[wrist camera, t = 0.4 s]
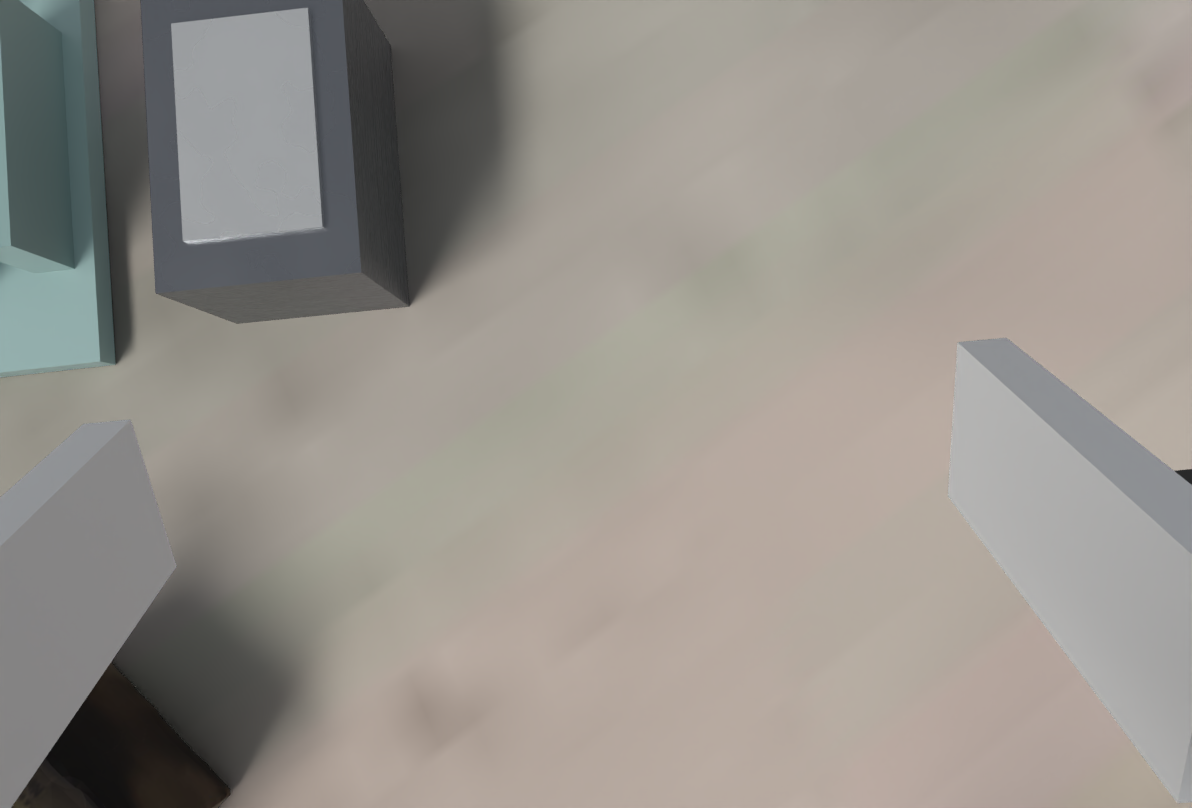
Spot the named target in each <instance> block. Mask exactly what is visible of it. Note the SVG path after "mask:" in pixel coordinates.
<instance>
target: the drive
mask: <svg viewBox="0 0 1192 808" xmlns="http://www.w3.org/2000/svg"><path fill="white" fill-rule="evenodd" d="M141 19H142V38H143V58H144V77H145V97H146V116H147V135H148V155H149V174H150V194H151V213H152V233H153V252H154V272H155V291H156V294H159V295H161V296H164V297H167V298H169V299H172V300H175V301H177V302H180V303H183V304H185V305H188V306H191V307H194V308H196V309H199V310H202V311H204V312H207V313H210V314H212V315H215V316H218V317H220V318H223V319H226V320H229V321H231V322H234V323H237V324H239V323H249V322H259V321H269V320H279V319H289V318H299V317H309V316H319V315H329V314H339V313H349V312H359V311H370V310H380V309H390V308H400V307H409V293H408V280H407V266H406V252H405V239H404V225H403V212H402V198H401V184H400V171H399V157H398V143H397V130H396V116H395V102H394V89H393V75H392V61H391V48H390V44H389V42H388V40H387V39H386V37H385V35H384V34H383V32H382V30H381V29H380V27H379V25H378V24H377V22H376V21H375V19H374V17H373V16H372V14H371V12H370V11H369V9H368V7H367V6H366V4H365V2H364V1H363V0H141Z"/></svg>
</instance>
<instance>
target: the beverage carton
mask: <svg viewBox="0 0 1192 808" xmlns="http://www.w3.org/2000/svg"><path fill="white" fill-rule="evenodd" d="M230 794H231V793H230V789H229V788H228V787H227V786H226V784H225V783H224V782H223V781H222V780H221V779H220V778H219V777H218V776H217V775H216V774H215V773H214V772H213V771H212V770H211V769H210V767H209V766H208V765H207V764H206V763H205V762H204V761H203V760H202V759H201V758H200V757H198V756H197V755H196V754H195V753H194V752H193V751H192V750H191V749H190V748H189V747H188V746H187V745H186V743H185V742H184V741H183V740H182V739H181V738H180V737H179V736H178V735H177V733H176V732H175V731H174V730H173V729H172V728H171V727H170V726H169V725H168V724H167V723H166V722H165V721H164V720H163V719H162V717H161V716H160V715H159V713H158V712H157V710H156V709H155V708H154V707H153V706H152V705H151V704H150V703H149V702H148V701H147V700H146V699H145V698H144V697H143V696H142V695H141V694H140V693H139V692H138V691H137V690H136V689H135V687H134V686H133V685H132V684H131V682H130V681H129V680H128V679H127V678H126V677H124V676H123V675H122V674H121V673H120V672H119V671H118V670H117V668H116V667H115V666H114V665H113V664H112V663H110V664H109V666H108V667H107V669H106V670H105V672H104V673H103V675H102V676H101V677H100V679H99V680H98V682H97V683H96V685H95V686H94V688H93V689H92V691H91V692H90V693H89V695H88V696H87V698H86V699H85V701H84V702H83V704H82V705H81V707H80V708H79V710H78V711H77V712H76V714H75V715H74V717H73V718H72V720H71V721H70V723H69V724H68V726H67V727H66V728H65V730H64V731H63V733H62V734H61V736H60V737H59V739H58V740H57V742H56V743H55V744H54V746H53V747H52V749H51V750H50V752H49V753H48V755H47V756H46V758H45V759H44V761H43V762H42V763H41V765H40V766H39V768H38V769H37V771H36V772H35V774H34V775H33V777H32V778H31V779H30V781H29V782H28V784H27V785H26V787H25V788H24V790H23V791H22V793H21V794H20V795H19V797H18V798H17V800H16V801H15V803H14V804H13V806H12V807H11V808H218V807H219V806H220V804H221V803H222V802H223V801H224V800H225V799H226V798H227V797H228V796H230Z"/></svg>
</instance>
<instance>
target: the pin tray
mask: <svg viewBox="0 0 1192 808" xmlns="http://www.w3.org/2000/svg"><path fill="white" fill-rule="evenodd" d="M109 365H116V363H115V346H114V329H113V312H112V295H111V278H110V262H109V245H108V228H107V211H106V194H105V177H104V161H103V144H102V127H101V110H100V93H99V77H98V60H97V43H96V26H95V9H94V0H0V377H9V376H18V375H27V374H36V373H45V372H54V371H63V370H72V369H81V368H90V367H100V366H109Z"/></svg>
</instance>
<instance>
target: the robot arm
mask: <svg viewBox="0 0 1192 808" xmlns="http://www.w3.org/2000/svg"><path fill="white" fill-rule="evenodd" d="M948 497H949V498H950V500H951V501H952V502H953V504H954V505H955V506H956V508H957V509H958V510H959V512H960V513H961V514H962V516H963V517H964V518H965V520H966V521H967V522H968V524H969V525H970V526H971V528H972V529H973V530H974V532H975V533H976V534H977V536H978V537H979V538H980V540H981V541H982V542H983V544H984V545H985V546H986V548H987V549H988V550H989V552H990V553H991V554H992V556H993V557H994V559H995V560H996V561H997V563H998V564H999V565H1000V567H1001V568H1002V569H1003V571H1004V572H1005V573H1006V575H1007V576H1008V577H1009V579H1010V580H1011V581H1012V583H1013V584H1014V585H1015V587H1016V588H1017V589H1018V591H1019V592H1020V593H1021V595H1022V596H1023V597H1024V599H1025V600H1026V601H1027V603H1028V604H1029V605H1030V607H1031V608H1032V609H1033V611H1034V612H1035V613H1036V615H1037V616H1038V617H1039V619H1040V620H1041V621H1042V623H1043V624H1044V625H1045V627H1046V628H1047V629H1048V631H1049V632H1050V633H1051V635H1052V636H1053V637H1054V639H1055V640H1056V641H1057V643H1058V644H1059V645H1060V647H1061V648H1062V650H1063V651H1064V652H1065V654H1066V655H1067V656H1068V658H1069V659H1070V660H1071V662H1072V663H1073V664H1074V666H1075V667H1076V668H1077V670H1078V671H1079V672H1080V674H1081V675H1082V676H1083V678H1084V679H1085V680H1086V682H1087V683H1088V684H1089V686H1090V687H1091V688H1092V690H1093V691H1094V692H1095V694H1096V695H1097V696H1098V698H1099V699H1100V700H1101V702H1102V703H1103V704H1104V706H1105V707H1106V708H1107V710H1108V711H1109V712H1110V714H1111V715H1112V716H1113V718H1114V719H1115V720H1116V722H1117V723H1118V724H1119V726H1120V727H1121V728H1122V730H1123V731H1124V732H1125V734H1126V735H1127V736H1128V738H1129V739H1130V741H1131V742H1132V743H1133V745H1134V746H1135V747H1136V749H1137V750H1138V751H1139V753H1140V754H1141V755H1142V757H1143V758H1144V759H1145V761H1146V762H1147V763H1148V765H1149V766H1150V767H1151V769H1152V770H1153V771H1154V773H1155V774H1156V775H1157V777H1158V778H1159V779H1160V781H1161V782H1162V783H1163V785H1164V786H1165V787H1166V789H1167V790H1168V791H1169V793H1170V794H1171V795H1172V797H1173V798H1174V799H1175V801H1176V802H1177V803H1187V802H1192V469H1190V470H1179V471H1174V470H1172V469H1171V468H1170V467H1168V466H1167V465H1166V464H1165V463H1163V462H1162V461H1161V460H1160V459H1158V458H1157V457H1156V456H1155V455H1153V454H1152V453H1151V452H1150V451H1148V450H1147V449H1146V448H1145V447H1143V446H1142V445H1141V444H1140V443H1138V442H1137V441H1136V440H1134V439H1133V438H1132V437H1131V436H1129V435H1128V434H1127V433H1126V432H1124V431H1123V430H1122V429H1121V428H1119V427H1118V426H1117V425H1116V424H1114V423H1113V422H1112V421H1111V420H1109V419H1108V418H1107V417H1106V416H1104V415H1103V414H1102V413H1101V412H1099V411H1098V410H1097V409H1095V408H1094V407H1093V406H1092V405H1090V404H1089V403H1088V402H1087V401H1085V400H1084V399H1083V398H1082V397H1080V396H1079V395H1078V394H1077V393H1075V392H1074V391H1073V390H1072V389H1070V388H1069V387H1068V386H1067V385H1065V384H1064V383H1063V382H1061V381H1060V380H1059V379H1058V378H1056V377H1055V376H1054V375H1053V374H1051V373H1050V372H1049V371H1048V370H1046V369H1045V368H1044V367H1043V366H1041V365H1040V364H1039V363H1038V362H1036V361H1035V360H1034V359H1033V358H1031V357H1030V356H1029V355H1028V354H1026V353H1025V352H1024V351H1022V350H1021V349H1020V348H1019V347H1017V346H1016V345H1015V344H1014V343H1012V342H1011V341H1010V340H1009V339H1007V338H999V339H988V340H977V341H966V342H958V344H957V359H956V375H955V391H954V407H953V423H952V438H951V454H950V470H949V486H948ZM176 567H177V566H176V562H175V559H174V556H173V553H172V550H171V546H170V543H169V540H168V537H167V534H166V530H165V527H164V524H163V521H162V518H161V514H160V511H159V508H158V505H157V502H156V498H155V495H154V492H153V489H152V486H151V482H150V479H149V476H148V473H147V470H146V466H145V463H144V460H143V457H142V454H141V450H140V447H139V444H138V441H137V438H136V434H135V431H134V428H133V425H132V422H131V420H121V421H110V422H100V423H89V424H83V425H82V426H80V427H79V428H78V429H77V430H76V431H75V432H74V433H73V434H71V435H70V436H69V437H68V438H67V439H66V440H65V441H63V442H62V443H61V444H60V445H59V446H58V447H57V448H56V449H54V450H53V451H52V452H51V453H50V454H49V455H48V456H47V457H45V458H44V459H43V460H42V461H41V462H40V463H39V464H38V465H36V466H35V467H34V468H33V469H32V470H31V471H30V472H28V473H27V474H26V475H25V476H24V477H23V478H22V479H21V480H19V481H18V482H17V483H16V484H15V485H14V486H13V487H12V488H10V489H9V490H8V491H7V492H6V493H5V494H4V495H3V496H1V497H0V808H11V807H12V806H13V804H14V803H15V801H16V800H17V798H18V797H19V795H20V794H21V793H22V791H23V790H24V788H25V787H26V785H27V784H28V782H29V781H30V779H31V778H32V777H33V775H34V774H35V772H36V771H37V769H38V768H39V766H40V765H41V763H42V762H43V761H44V759H45V758H46V756H47V755H48V753H49V752H50V750H51V749H52V747H53V746H54V744H55V743H56V742H57V740H58V739H59V737H60V736H61V734H62V733H63V731H64V730H65V728H66V727H67V726H68V724H69V723H70V721H71V720H72V718H73V717H74V715H75V714H76V712H77V711H78V710H79V708H80V707H81V705H82V704H83V702H84V701H85V699H86V698H87V696H88V695H89V693H90V692H91V691H92V689H93V688H94V686H95V685H96V683H97V682H98V680H99V679H100V677H101V676H102V675H103V673H104V672H105V670H106V669H107V667H108V666H109V664H110V663H111V661H112V660H113V659H114V657H115V656H116V654H117V653H118V651H119V650H120V648H121V647H122V645H123V644H124V642H125V641H126V640H127V638H128V637H129V635H130V634H131V632H132V631H133V629H134V628H135V626H136V625H137V624H138V622H139V621H140V619H141V618H142V616H143V615H144V613H145V612H146V610H147V609H148V608H149V606H150V605H151V603H152V602H153V600H154V599H155V597H156V596H157V594H158V593H159V592H160V590H161V589H162V587H163V586H164V584H165V583H166V581H167V580H168V578H169V577H170V575H171V574H172V573H173V571H174V570H175V568H176Z"/></svg>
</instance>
